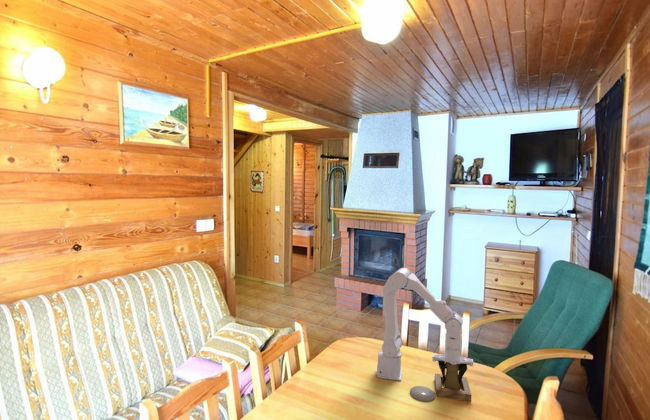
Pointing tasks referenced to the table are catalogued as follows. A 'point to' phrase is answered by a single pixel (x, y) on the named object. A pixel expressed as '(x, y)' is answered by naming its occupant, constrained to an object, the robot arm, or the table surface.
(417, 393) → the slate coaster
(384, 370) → the robot arm
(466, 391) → the walnut holder
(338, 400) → the table surface
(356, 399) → the table surface
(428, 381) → the table surface
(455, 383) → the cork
